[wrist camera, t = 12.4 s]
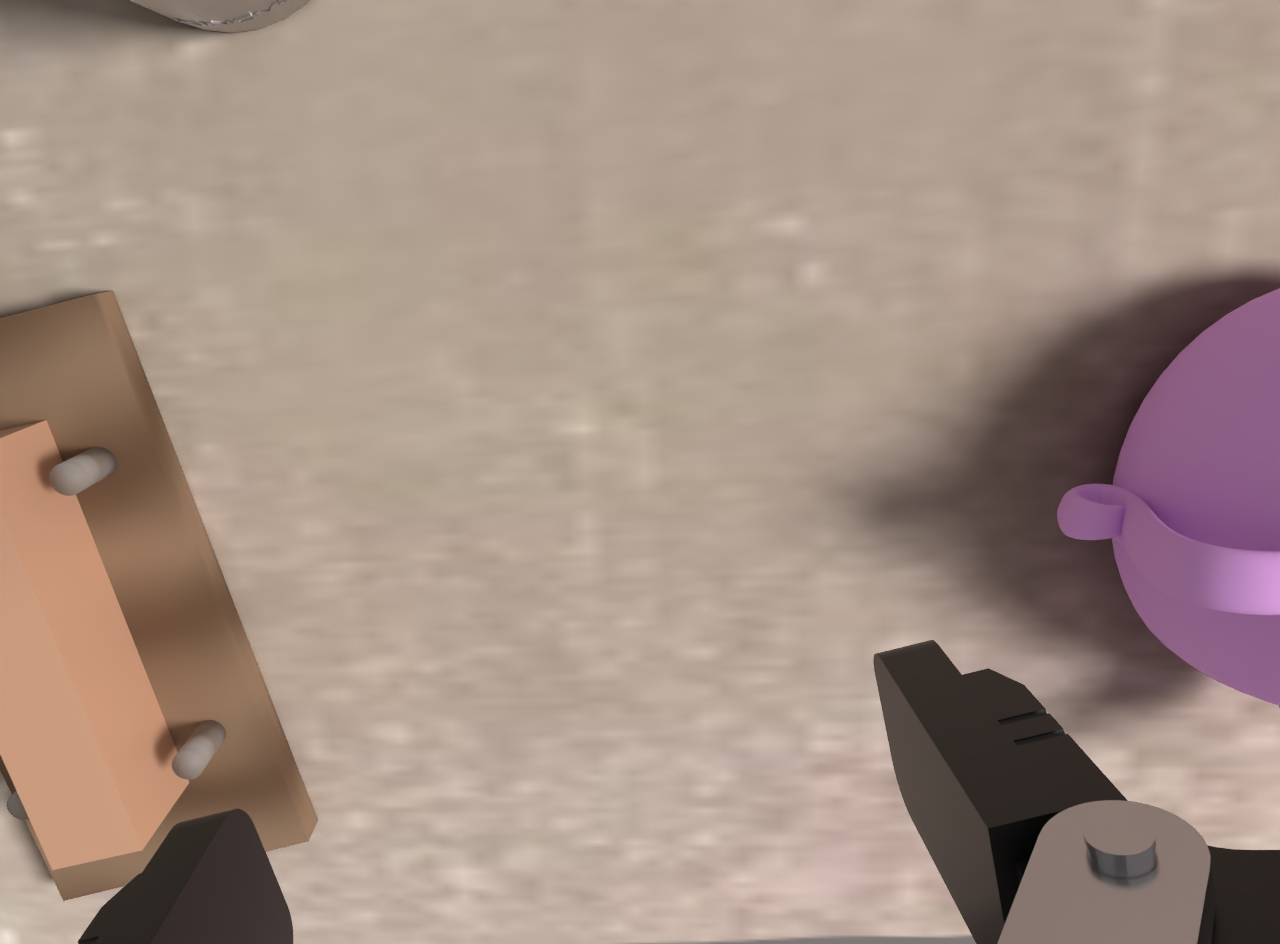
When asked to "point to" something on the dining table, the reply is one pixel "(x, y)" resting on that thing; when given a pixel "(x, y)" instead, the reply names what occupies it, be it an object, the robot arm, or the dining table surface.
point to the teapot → (1203, 503)
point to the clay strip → (72, 675)
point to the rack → (151, 577)
